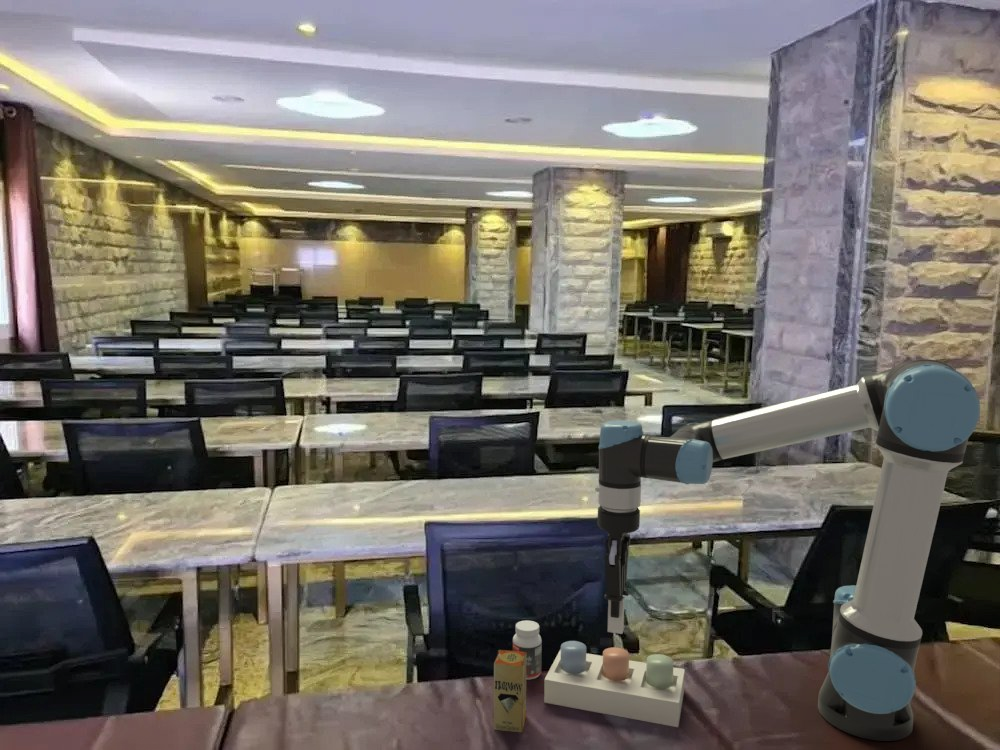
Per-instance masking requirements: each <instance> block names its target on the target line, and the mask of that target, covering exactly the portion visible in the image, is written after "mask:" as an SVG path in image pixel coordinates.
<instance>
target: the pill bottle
mask: <svg viewBox="0 0 1000 750" xmlns="http://www.w3.org/2000/svg"><path fill="white" fill-rule="evenodd" d="M542 641H543V640H542V637H541V635H540V625H539V623H538V622H536V621H533V620H521V621H518V622H516V623H515V634H514V635H513V637H512V651H520V652H526V681H527V680H528V681H530V680H534V679H537V678H538V677H540V675H541V674H542V652H543V651H542V650H543V649H542V647H543V646H542Z"/></svg>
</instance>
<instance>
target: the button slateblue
mask: <svg viewBox="0 0 1000 750" xmlns="http://www.w3.org/2000/svg"><path fill="white" fill-rule="evenodd" d="M560 649H561V669H562V670H563V671H565V672H567V673H571V674H578V673H582V672H584V671H585V670H586V653H587V646H586V644H585V643H583V642H581V641H578V640H567V641H565V642H563V643H561V645H560Z"/></svg>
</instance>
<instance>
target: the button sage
mask: <svg viewBox="0 0 1000 750" xmlns="http://www.w3.org/2000/svg"><path fill="white" fill-rule="evenodd" d="M645 663H646V682H647V683H648V684H649V685H650V686H652V687H655V688H660V689H665V688H669V687H671V686H672V685H673V667H674V659H673V658H671V657H670V656H668V655H666V654H661V653H655V654H649V656H647V657H646V662H645Z"/></svg>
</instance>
